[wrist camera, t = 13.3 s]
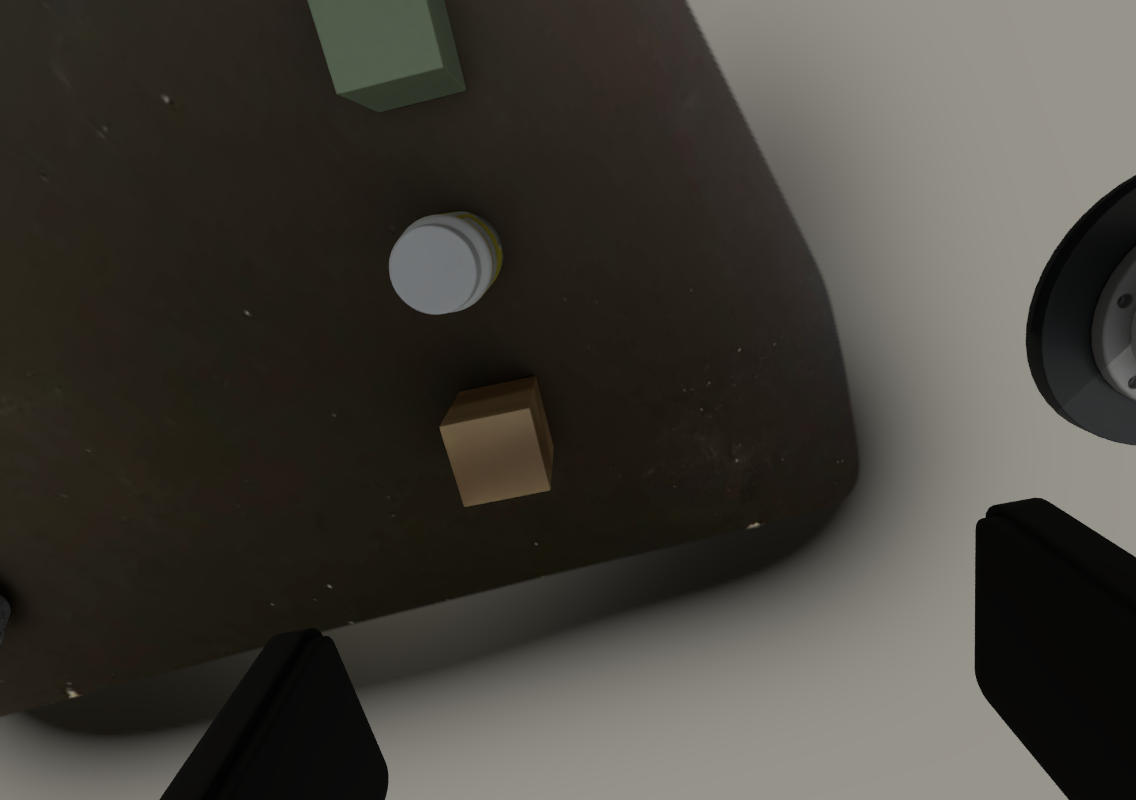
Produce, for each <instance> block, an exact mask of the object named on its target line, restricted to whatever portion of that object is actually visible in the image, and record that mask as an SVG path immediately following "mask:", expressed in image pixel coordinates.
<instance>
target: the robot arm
mask: <svg viewBox="0 0 1136 800" xmlns="http://www.w3.org/2000/svg"><path fill="white" fill-rule="evenodd" d="M1091 338H1092V351H1093V355H1094V358H1095V362H1096V365H1097V367H1098V369H1099V371H1100V372H1101V374H1102V376H1103V378H1104V379H1105V380H1106V381H1107V382H1108V383H1109V384H1110V385H1111V386H1112V387H1113V388H1114V389H1115V390H1116V391H1117V392H1119V393H1121V394H1122V395H1124V396H1126V397H1127V398H1129V399H1132V400H1135V401H1136V246H1135V247H1134V248H1133V249H1132V250H1131V251H1130V252H1129V253H1128V254H1127V255H1126V256H1125V257H1124V258H1123V260H1122V261H1121V262H1120V264H1119V265H1118V266H1117V267H1116V269H1115V270H1114V271H1113V273H1112V274H1111V276H1110V278H1109V280H1108V281H1107V283H1106V285H1105V287H1104V289H1103V290H1102V292H1101V295H1100V298H1099V301H1098V303H1097V306H1096V309H1095V312H1094V317H1093V323H1092V329H1091ZM975 559H976V561H975V567H976V568H975V675H976V679H977V682H978V685H979V687H980V689H981V691H982V693H983V695H984V696H985V698H986V699H987V701H988V702H989V703H990V704H991V706H992V707H993V708H994V709H995V710H996V712H997V713H998V714H999V715H1000V716H1001V718H1002V719H1003V720H1004V721H1005V723H1006V724H1007V725H1008V726H1009V728H1010V729H1011V730H1012V731H1013V732H1014V734H1015V735H1016V736H1017V737H1018V738H1019V740H1020V741H1021V742H1022V743H1023V744H1024V746H1025V747H1026V748H1027V749H1028V750H1029V752H1030V753H1031V754H1032V755H1033V756H1034V758H1035V759H1036V760H1037V762H1038V763H1039V764H1040V765H1041V766H1042V767H1043V769H1044V770H1045V771H1046V772H1047V774H1048V775H1049V776H1050V777H1051V779H1052V780H1053V781H1054V782H1055V783H1056V785H1057V786H1058V787H1059V788H1060V789H1061V791H1062V792H1063V793H1064V794H1065V796H1067V798H1068V799H1069V800H1136V557H1134V556H1133V555H1131V554H1130V553H1128V552H1126V551H1125V550H1123V549H1122V548H1120V547H1119V546H1117V545H1116V544H1114V543H1112V542H1111V541H1109V540H1108V539H1106V538H1104V537H1103V536H1101V535H1100V534H1098V533H1097V532H1095V531H1093V530H1092V529H1090V528H1089V527H1087V526H1086V525H1084V524H1083V523H1081V522H1080V521H1078V520H1076V519H1075V518H1073V517H1072V516H1070V515H1069V514H1067V513H1065V512H1064V511H1062V510H1061V509H1059V508H1057V507H1056V506H1055V505H1053V504H1051V503H1050V502H1048V501H1046V500H1044V499H1042V498H1031V499H1026V500H1020V501H1016V502H1009V503H1004V504H998V505H993V506H992V507H990V508H989V509H988V511H987V512H986V518H982V519H980V520H979V521H978V522H977V524H976V558H975ZM387 789H388V769H387V765H386V762H385V760H384V758H383V755H382V753H381V751H380V748H379V746H378V744H377V741H376V739H375V737H374V734H373V732H372V730H371V727H370V725H369V723H368V721H367V718H366V716H365V713H364V711H363V709H362V706H361V704H360V702H359V699H358V697H357V695H356V693H355V690H354V688H353V685H352V683H351V681H350V679H349V676H348V674H347V671H346V669H345V667H344V664H343V662H342V660H341V658H340V655H339V653H338V650H337V648H336V646H335V644H334V642H333V640H332V639H331V638H330V637H328V636H323V635H322V634H321V632H320V631H318V630H317V629H314V628H310V629H304V630H299V631H293V632H288V633H282V634H277V635H275V636H273V637H272V638H271V639H270V640H269V641H268V642H267V644H266V645H265V647H264V648H263V650H262V651H261V653H260V654H259V656H258V657H257V659H256V660H255V661H254V663H253V664H252V666H251V667H250V669H249V670H248V672H247V673H246V674H245V676H244V677H243V679H242V680H241V682H240V683H239V685H238V686H237V688H236V689H235V690H234V692H233V693H232V695H231V696H230V698H229V699H228V701H227V702H226V704H225V705H224V706H223V708H222V709H221V711H220V712H219V714H218V715H217V717H216V718H215V720H214V721H213V722H212V724H211V725H210V727H209V728H208V730H207V731H206V733H205V734H204V736H203V737H202V738H201V740H200V741H199V743H198V744H197V746H196V747H195V749H194V750H193V752H192V753H191V754H190V756H189V757H188V759H187V760H186V762H185V763H184V765H183V766H182V768H181V769H180V770H179V772H178V773H177V775H176V776H175V778H174V779H173V781H172V782H171V784H170V785H169V787H168V788H167V790H166V791H165V792H164V794H163V795H162V797H161V798H160V800H385V797H386V794H387Z"/></svg>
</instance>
